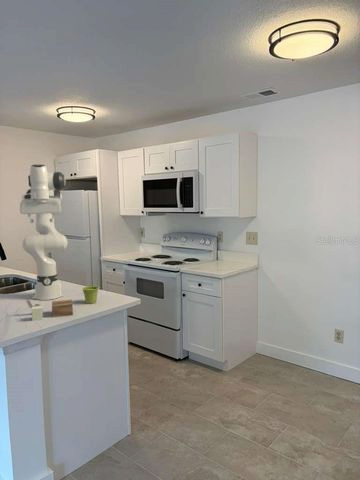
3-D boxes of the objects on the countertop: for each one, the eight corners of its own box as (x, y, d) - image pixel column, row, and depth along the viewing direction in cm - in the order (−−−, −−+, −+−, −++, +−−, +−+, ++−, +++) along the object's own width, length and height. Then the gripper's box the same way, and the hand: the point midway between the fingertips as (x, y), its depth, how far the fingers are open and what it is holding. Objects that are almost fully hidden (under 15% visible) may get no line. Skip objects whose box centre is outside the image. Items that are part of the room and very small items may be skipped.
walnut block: (52, 312, 192) (52, 301, 191) (72, 310, 195) (71, 299, 194) (52, 317, 182) (51, 306, 182) (72, 315, 186) (72, 304, 185)
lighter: (41, 312, 190) (40, 298, 189) (41, 313, 189) (40, 299, 188) (27, 314, 188) (26, 299, 187) (27, 315, 186) (26, 300, 185)
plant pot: (90, 299, 215) (90, 285, 214) (102, 301, 210) (102, 287, 210) (79, 303, 207) (78, 288, 206) (91, 305, 202) (90, 290, 202)
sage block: (33, 318, 182) (32, 306, 181) (42, 317, 183) (41, 305, 182) (32, 320, 177) (31, 309, 177) (42, 319, 179) (41, 308, 178)
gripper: (61, 195, 193) (62, 221, 194) (19, 196, 186) (21, 222, 188) (61, 195, 187) (62, 222, 188) (18, 195, 180) (20, 223, 182)
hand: (41, 222), depth 188 cm, fingers open, 8 cm apart
